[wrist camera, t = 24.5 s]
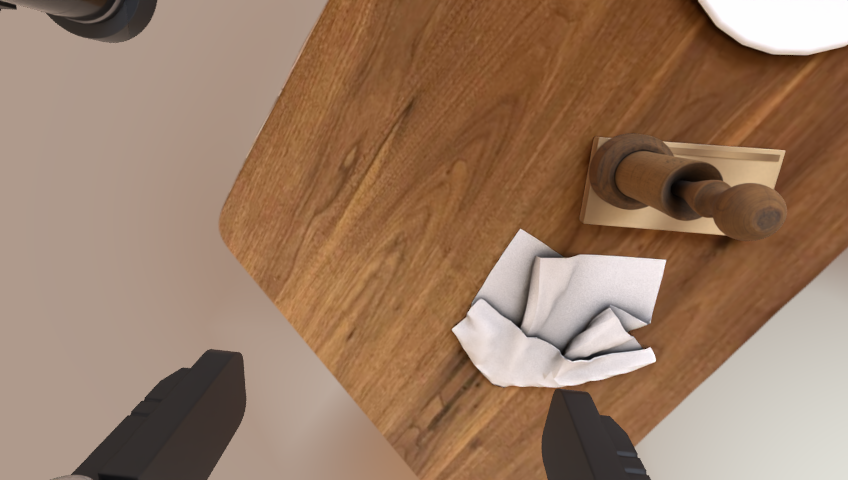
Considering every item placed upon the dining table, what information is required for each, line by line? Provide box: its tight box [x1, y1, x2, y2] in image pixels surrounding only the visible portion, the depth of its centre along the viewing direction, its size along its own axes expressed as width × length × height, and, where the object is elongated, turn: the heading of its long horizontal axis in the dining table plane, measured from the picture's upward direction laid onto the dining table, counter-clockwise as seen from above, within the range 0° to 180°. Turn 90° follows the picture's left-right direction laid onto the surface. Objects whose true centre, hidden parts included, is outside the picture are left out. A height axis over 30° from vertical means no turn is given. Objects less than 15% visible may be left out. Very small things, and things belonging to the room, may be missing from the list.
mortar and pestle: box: [589, 133, 787, 241], centre depth 29 cm, size 7×6×18 cm
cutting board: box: [579, 137, 785, 235], centre depth 38 cm, size 16×8×2 cm, turn 86°
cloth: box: [451, 229, 666, 388], centre depth 42 cm, size 20×22×2 cm
